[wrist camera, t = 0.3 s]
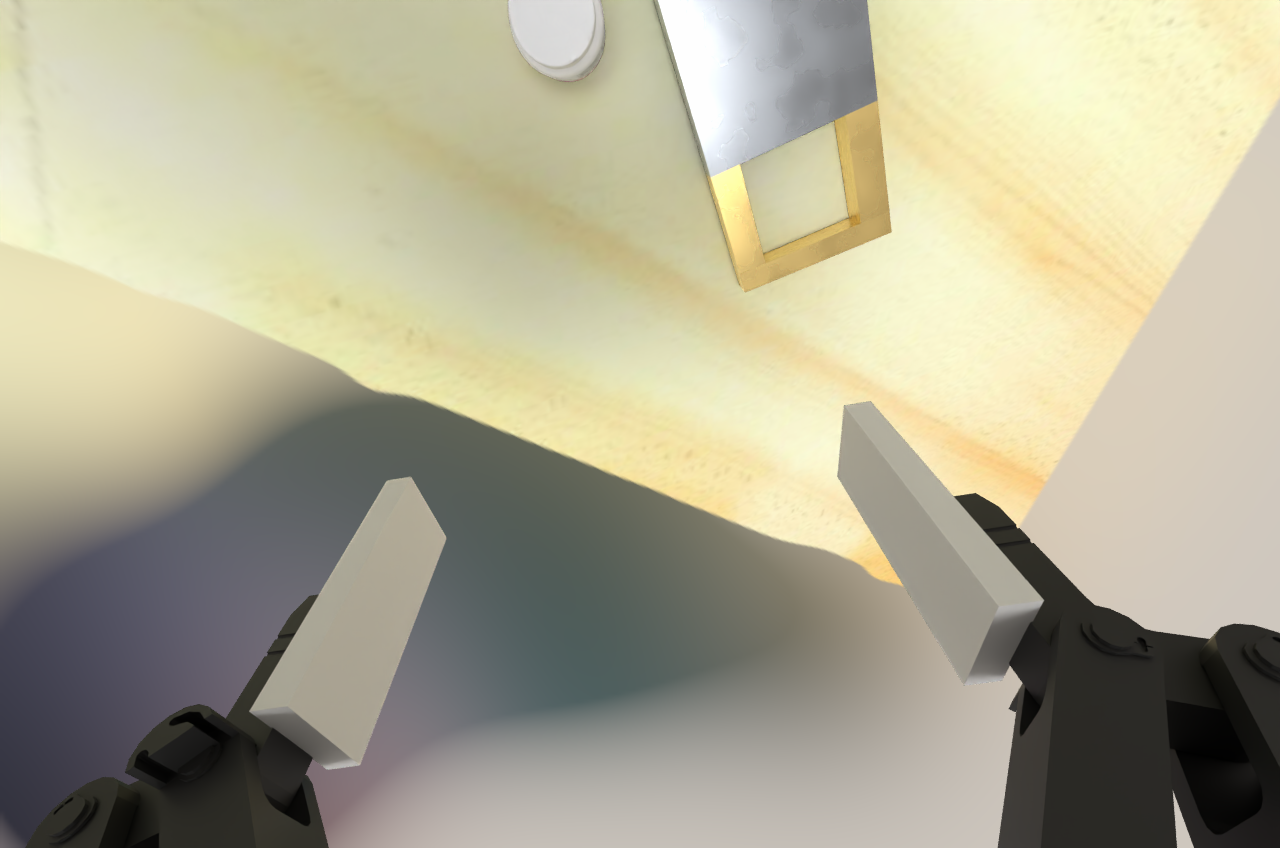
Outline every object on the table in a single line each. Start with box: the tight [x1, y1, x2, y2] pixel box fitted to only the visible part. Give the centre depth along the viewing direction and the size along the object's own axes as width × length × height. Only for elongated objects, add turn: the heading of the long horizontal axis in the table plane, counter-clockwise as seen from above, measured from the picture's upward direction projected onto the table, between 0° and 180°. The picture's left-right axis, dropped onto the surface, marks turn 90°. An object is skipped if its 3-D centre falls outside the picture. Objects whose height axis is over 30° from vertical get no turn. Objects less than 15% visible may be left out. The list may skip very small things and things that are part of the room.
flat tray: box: [654, 0, 891, 292], centre depth 29 cm, size 24×11×2 cm, turn 23°
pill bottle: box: [508, 0, 605, 82], centre depth 25 cm, size 5×5×8 cm
